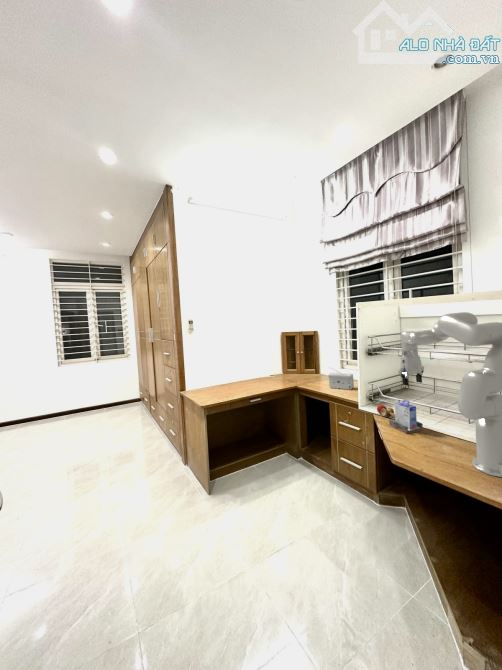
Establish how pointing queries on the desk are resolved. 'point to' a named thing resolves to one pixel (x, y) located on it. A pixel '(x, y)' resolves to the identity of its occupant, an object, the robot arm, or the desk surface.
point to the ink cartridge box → (406, 414)
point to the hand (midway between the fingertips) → (412, 383)
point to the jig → (405, 427)
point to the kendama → (385, 410)
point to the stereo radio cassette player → (341, 380)
